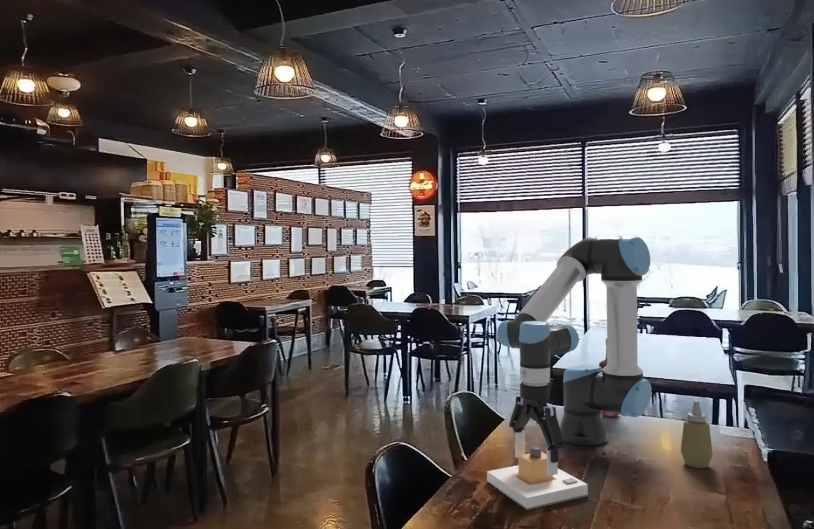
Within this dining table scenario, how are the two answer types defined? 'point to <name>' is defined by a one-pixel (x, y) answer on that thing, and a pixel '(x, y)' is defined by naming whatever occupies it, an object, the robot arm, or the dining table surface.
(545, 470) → the plug
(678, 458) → the dining table surface
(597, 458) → the dining table surface
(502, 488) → the socket
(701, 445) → the squeeze bottle
